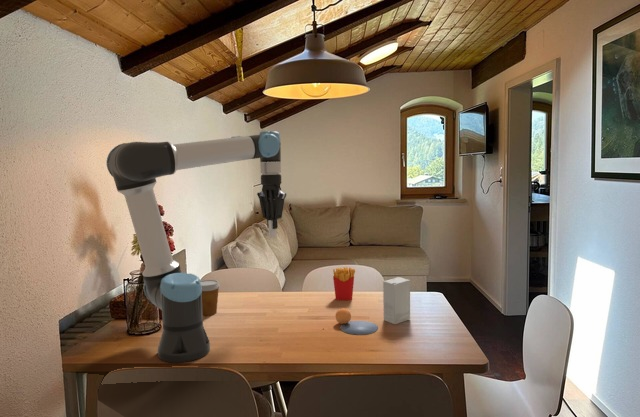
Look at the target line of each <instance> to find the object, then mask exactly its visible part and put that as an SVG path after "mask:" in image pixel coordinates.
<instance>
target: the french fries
mask: <svg viewBox="0 0 640 417" xmlns="http://www.w3.org/2000/svg"><path fill="white" fill-rule="evenodd" d="M332 271H333V272H332V273H333V276H332V280H333V286H334V295H335V300H337V301H352V300H353V295H354V294H353V293H354V282H355V274H356V269H355V268H351V267H346V266H344V267H342V268H341V267H340V268H338V267H337V268H335V269H334V268H333V269H332Z"/></svg>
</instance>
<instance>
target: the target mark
mask: <svg viewBox="0 0 640 417" xmlns="http://www.w3.org/2000/svg"><path fill="white" fill-rule="evenodd" d="M339 328H340V331H342V332H343V333H345V334H349V335H356V336H365V335H370V334H374V333H376V332H377V331H378V330H379V326H378V325H377V324H376V323H374V322H371V321H367V320H352V321H351V320H350V321H349V322H348V323H347V324H340V326H339Z"/></svg>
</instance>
